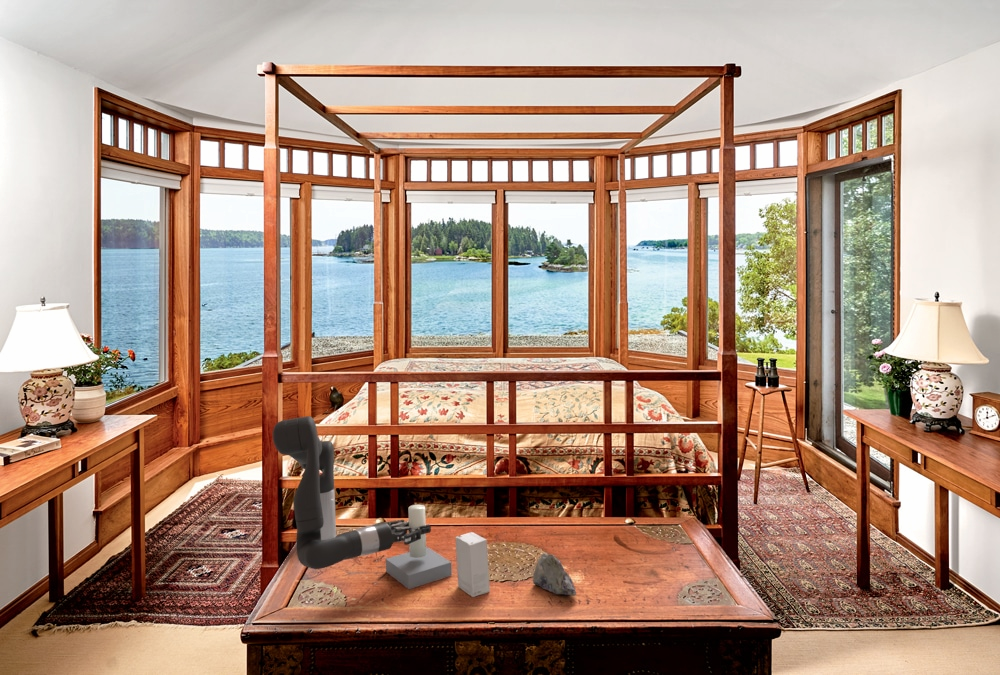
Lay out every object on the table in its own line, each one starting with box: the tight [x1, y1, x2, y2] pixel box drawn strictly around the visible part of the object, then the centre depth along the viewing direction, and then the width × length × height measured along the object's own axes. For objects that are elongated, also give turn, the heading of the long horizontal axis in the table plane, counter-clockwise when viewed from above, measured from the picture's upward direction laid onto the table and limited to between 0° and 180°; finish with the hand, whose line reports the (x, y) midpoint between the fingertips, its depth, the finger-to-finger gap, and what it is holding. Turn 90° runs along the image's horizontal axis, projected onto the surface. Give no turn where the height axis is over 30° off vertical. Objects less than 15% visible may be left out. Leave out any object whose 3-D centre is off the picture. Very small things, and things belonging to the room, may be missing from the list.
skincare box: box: [455, 531, 491, 598], centre depth 180 cm, size 8×6×15 cm
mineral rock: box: [532, 552, 577, 596], centre depth 179 cm, size 13×11×10 cm
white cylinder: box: [407, 504, 427, 558], centre depth 190 cm, size 5×5×14 cm
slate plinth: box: [385, 546, 453, 590], centre depth 191 cm, size 14×14×4 cm
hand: (425, 525), depth 191 cm, fingers closed on white cylinder, 4 cm apart
